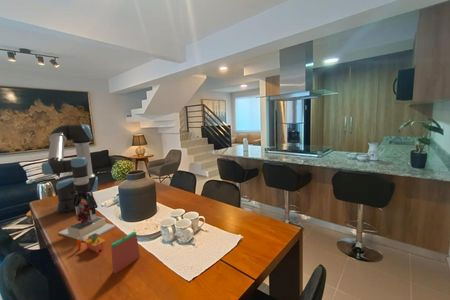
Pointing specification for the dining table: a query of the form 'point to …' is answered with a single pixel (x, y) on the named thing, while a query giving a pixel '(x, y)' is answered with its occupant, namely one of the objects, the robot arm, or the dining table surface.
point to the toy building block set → (116, 249)
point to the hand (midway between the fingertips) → (86, 217)
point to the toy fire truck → (83, 213)
